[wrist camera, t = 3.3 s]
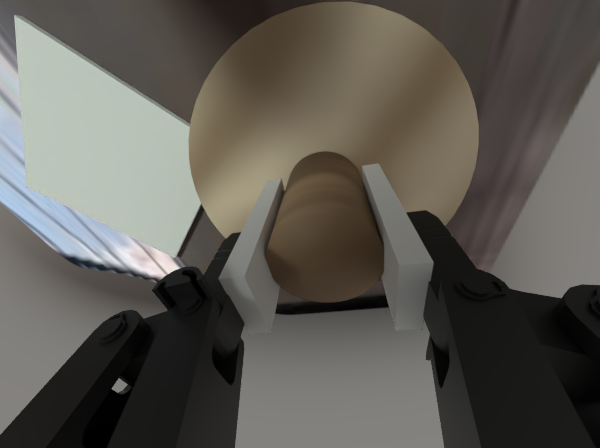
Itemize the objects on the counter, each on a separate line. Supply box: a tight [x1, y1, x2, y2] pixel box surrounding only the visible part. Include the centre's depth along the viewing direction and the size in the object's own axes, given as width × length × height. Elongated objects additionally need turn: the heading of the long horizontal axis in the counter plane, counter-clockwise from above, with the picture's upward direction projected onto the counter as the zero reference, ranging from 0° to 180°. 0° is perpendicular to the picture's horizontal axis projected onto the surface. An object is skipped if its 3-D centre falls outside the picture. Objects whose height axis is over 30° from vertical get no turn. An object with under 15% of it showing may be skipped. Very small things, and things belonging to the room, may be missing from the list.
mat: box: [14, 15, 202, 258], centre depth 21 cm, size 15×15×1 cm
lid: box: [188, 2, 479, 302], centre depth 11 cm, size 15×15×7 cm
